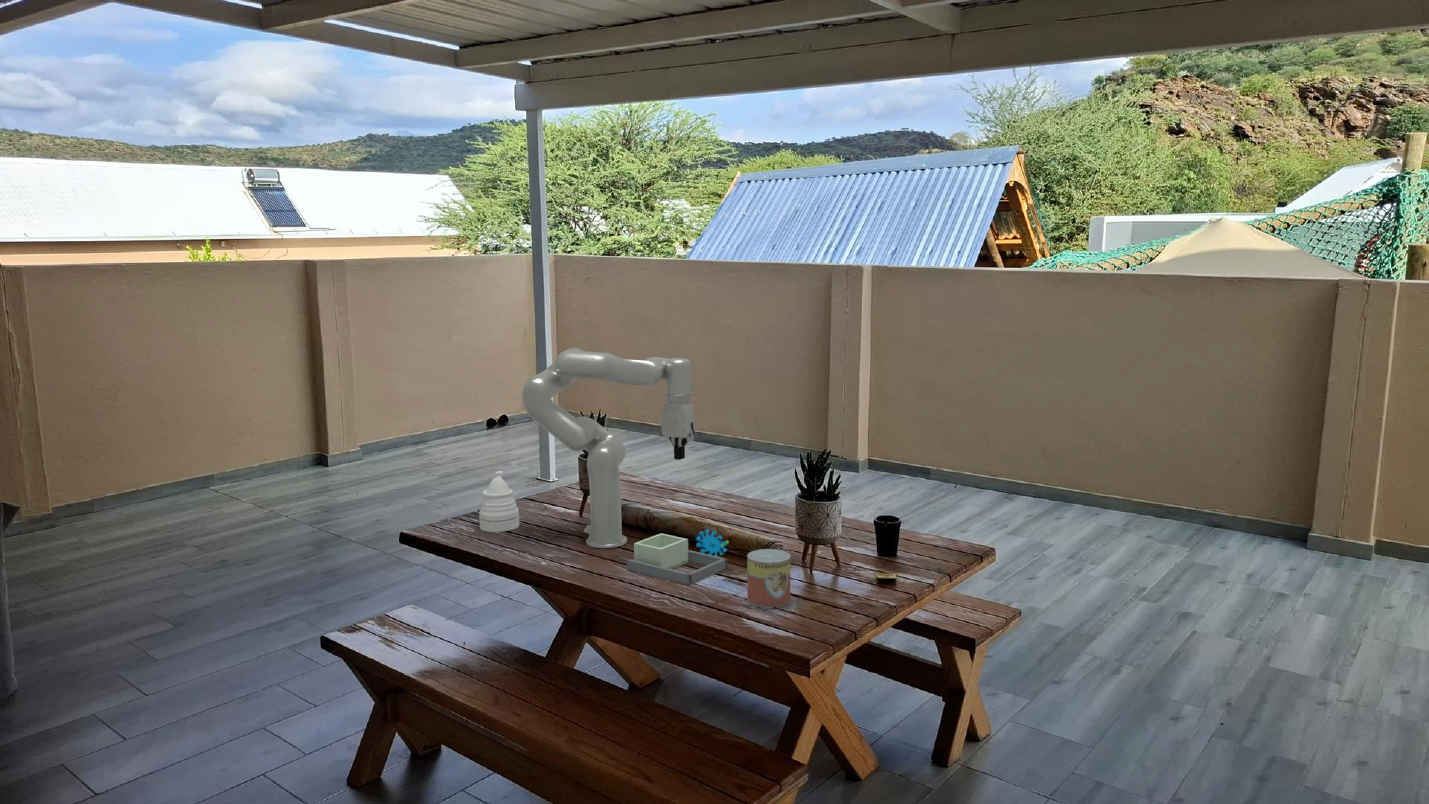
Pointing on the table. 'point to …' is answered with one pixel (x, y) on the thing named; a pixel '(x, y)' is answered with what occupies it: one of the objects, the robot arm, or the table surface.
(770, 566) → the canned food
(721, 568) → the bay
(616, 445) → the robot arm
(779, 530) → the table surface
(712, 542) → the gear
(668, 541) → the box
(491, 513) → the honey pot
